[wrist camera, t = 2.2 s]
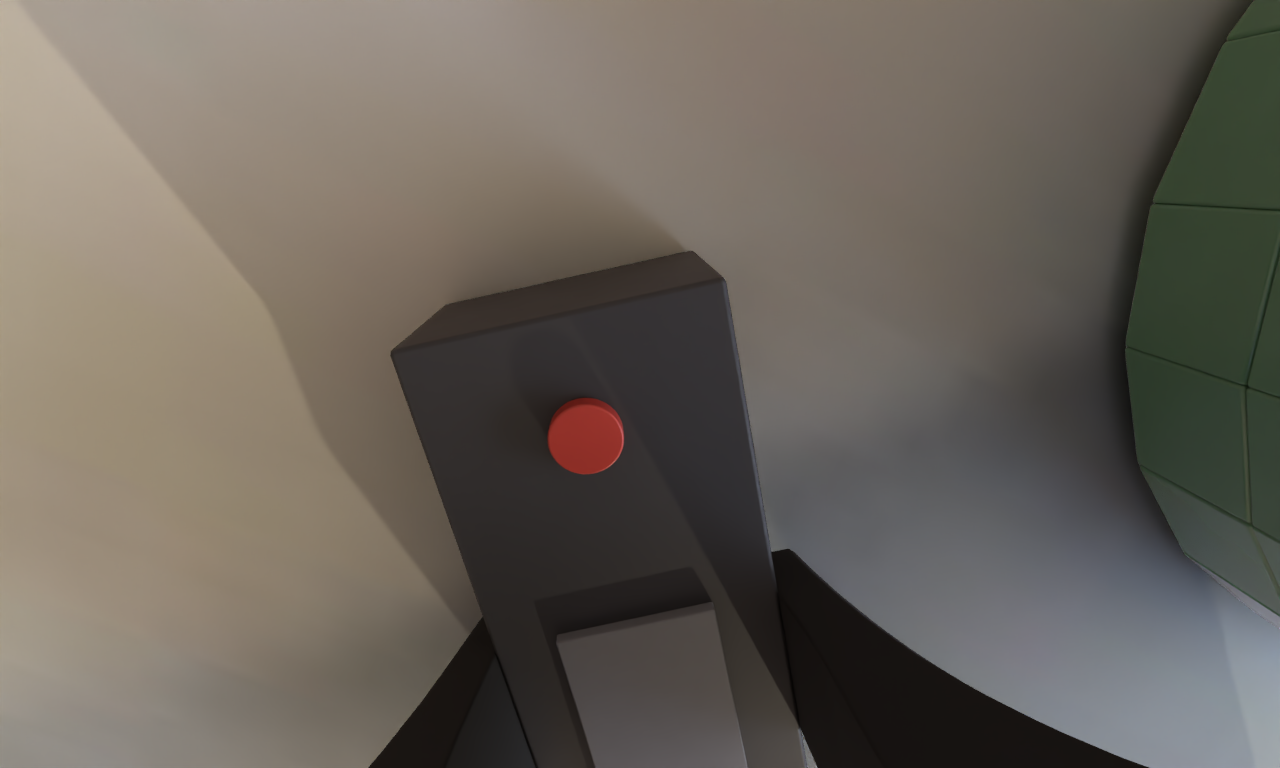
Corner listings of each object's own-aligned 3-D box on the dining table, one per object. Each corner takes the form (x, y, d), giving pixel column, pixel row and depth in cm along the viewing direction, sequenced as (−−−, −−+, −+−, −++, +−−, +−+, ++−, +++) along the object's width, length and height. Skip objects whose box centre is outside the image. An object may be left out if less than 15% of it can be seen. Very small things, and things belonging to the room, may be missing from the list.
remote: (789, 780, 15) (839, 941, 12) (605, 818, 15) (607, 990, 12) (693, 249, 11) (731, 280, 8) (443, 304, 11) (379, 357, 8)
